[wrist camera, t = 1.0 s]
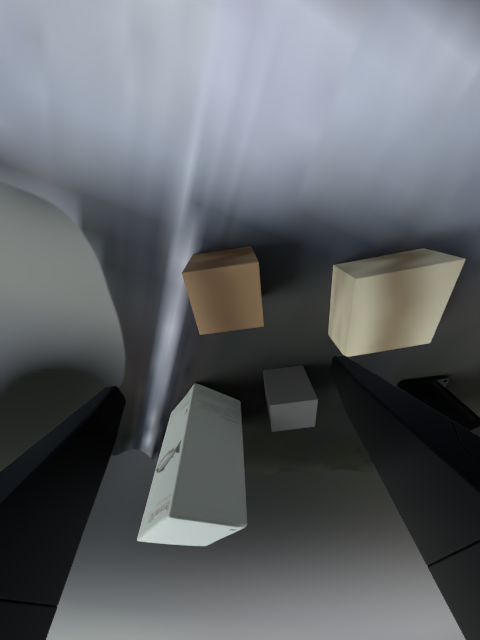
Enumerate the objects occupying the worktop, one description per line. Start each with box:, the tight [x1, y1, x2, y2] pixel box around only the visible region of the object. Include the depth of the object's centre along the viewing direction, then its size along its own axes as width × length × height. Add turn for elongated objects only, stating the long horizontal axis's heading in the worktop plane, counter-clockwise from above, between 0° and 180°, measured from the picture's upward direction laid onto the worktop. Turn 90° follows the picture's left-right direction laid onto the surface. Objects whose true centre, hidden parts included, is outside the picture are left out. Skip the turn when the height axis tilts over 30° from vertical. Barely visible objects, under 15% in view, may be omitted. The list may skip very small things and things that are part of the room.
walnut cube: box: [182, 246, 264, 335], centre depth 16 cm, size 5×5×5 cm
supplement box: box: [137, 383, 247, 546], centre depth 22 cm, size 7×7×13 cm
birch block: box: [328, 248, 466, 357], centre depth 19 cm, size 8×8×4 cm
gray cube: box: [263, 365, 318, 432], centre depth 24 cm, size 5×5×5 cm
